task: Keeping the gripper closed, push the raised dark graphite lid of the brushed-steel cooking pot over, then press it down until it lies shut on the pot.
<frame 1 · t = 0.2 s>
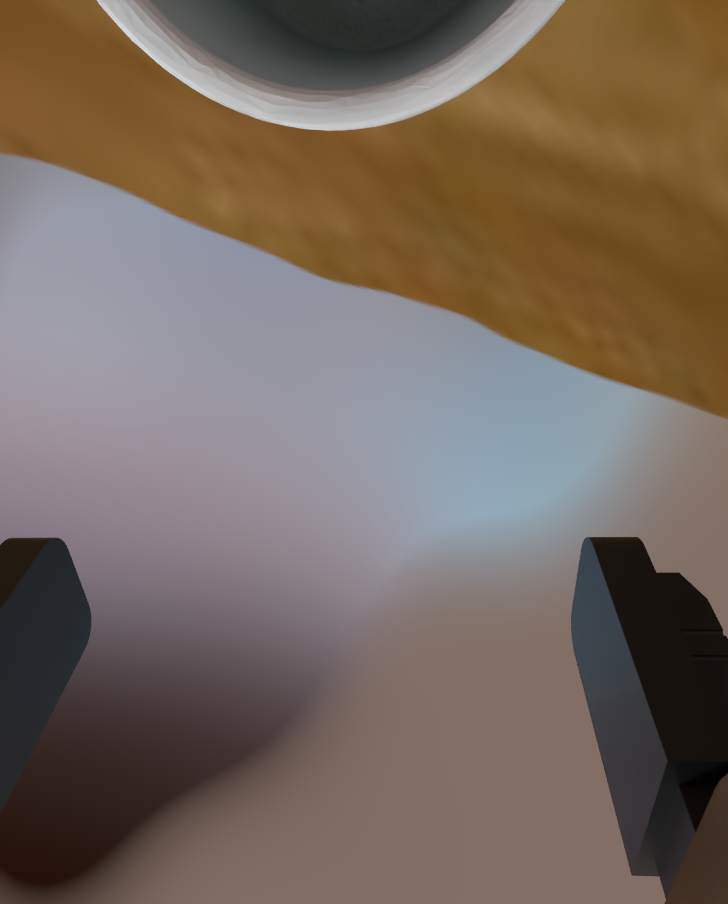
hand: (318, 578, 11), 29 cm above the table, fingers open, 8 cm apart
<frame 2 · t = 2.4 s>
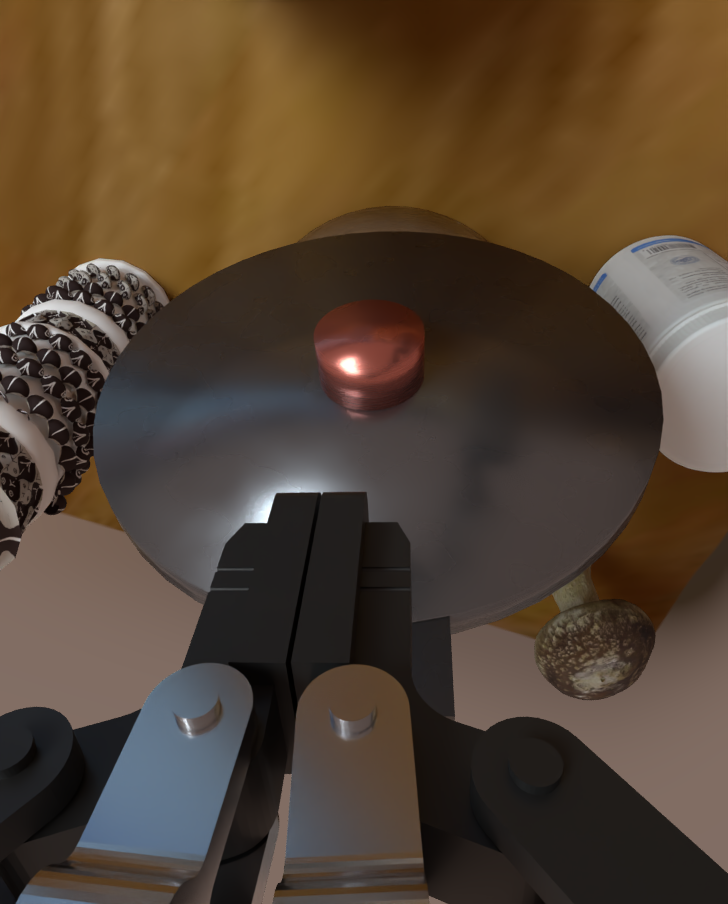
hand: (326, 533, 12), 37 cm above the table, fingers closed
decorative candle: (119, 313, 50), on the table
cooker pot: (391, 347, 50), on the table
cooker lid: (370, 388, 25), point 24 cm above the table, hinge at 75.0°
mushroom: (560, 535, 59), on the table
supplement tub: (649, 299, 47), on the table
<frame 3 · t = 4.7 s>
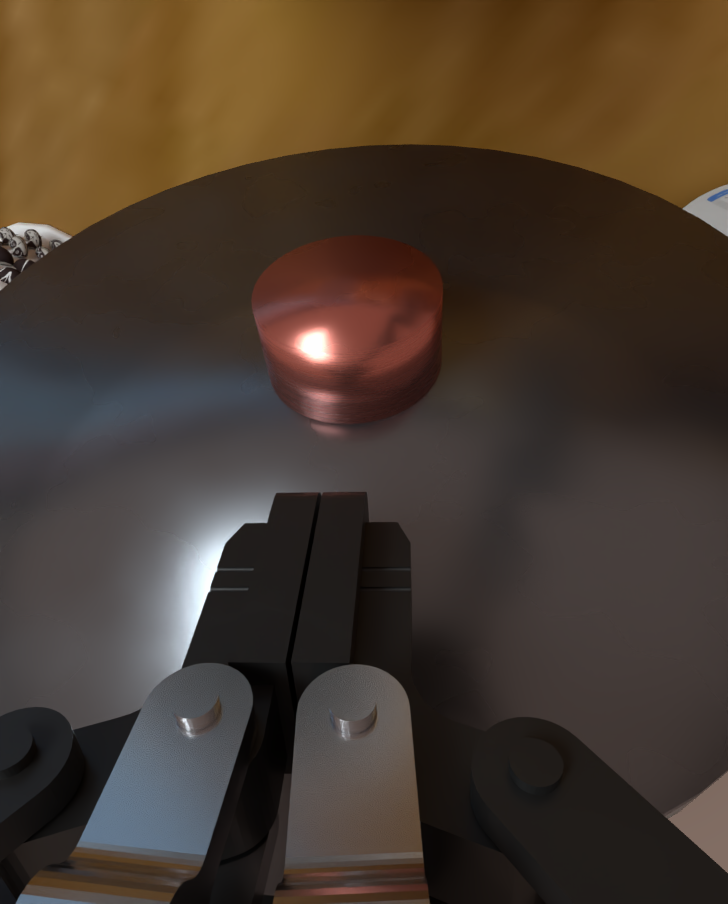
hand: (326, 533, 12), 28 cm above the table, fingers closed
decorative candle: (48, 295, 40), on the table
cooker lid: (350, 385, 15), point 24 cm above the table, hinge at 71.5°, touching gripper
supplement tub: (725, 268, 36), on the table
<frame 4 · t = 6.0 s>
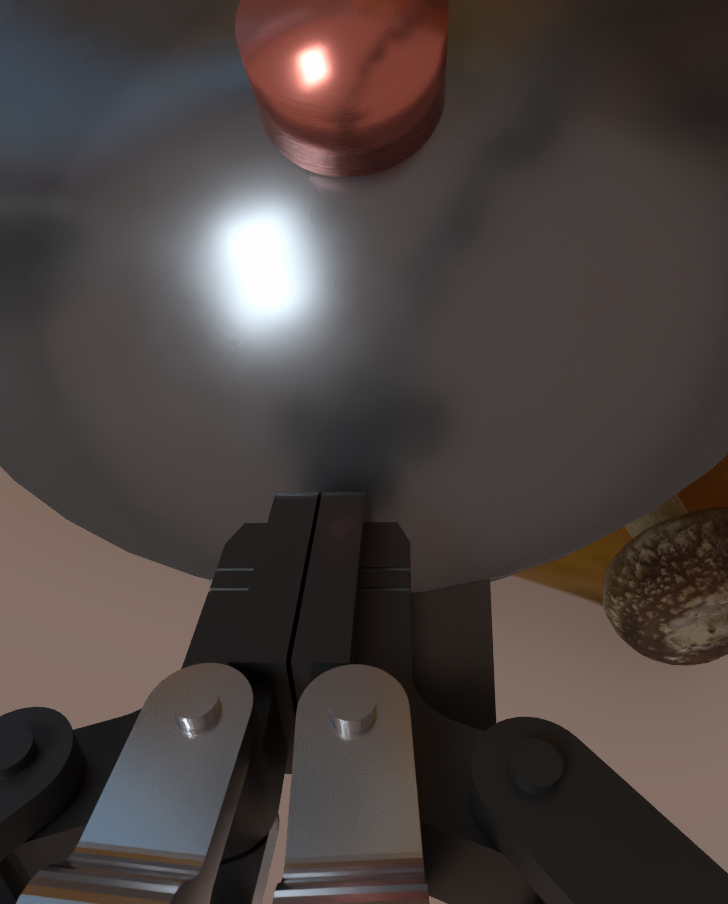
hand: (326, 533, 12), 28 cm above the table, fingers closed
cooker lid: (349, 132, 14), point 22 cm above the table, hinge at 46.9°
mushroom: (622, 448, 43), on the table
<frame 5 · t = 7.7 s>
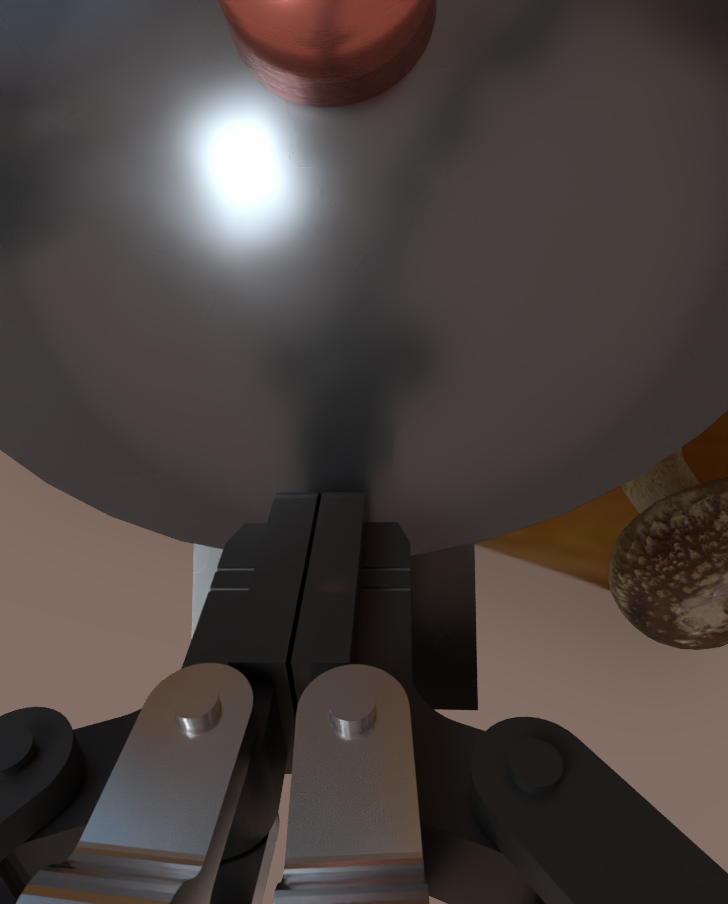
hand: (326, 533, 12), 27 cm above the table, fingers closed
cooker lid: (329, 55, 13), point 21 cm above the table, hinge at 39.4°, touching gripper
mushroom: (628, 420, 40), on the table
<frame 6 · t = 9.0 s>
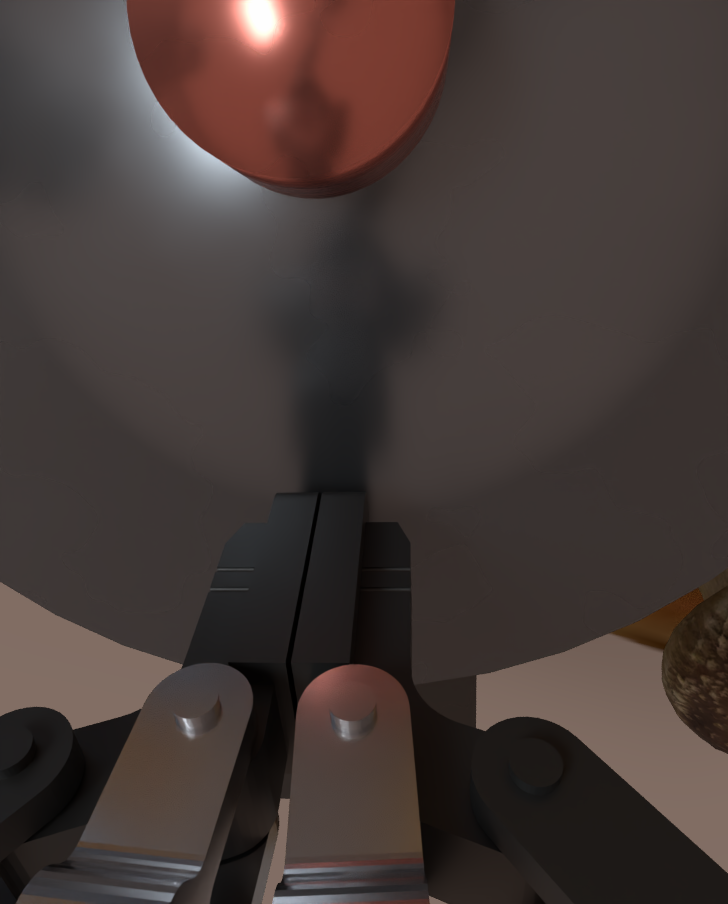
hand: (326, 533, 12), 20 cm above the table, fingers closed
cooker lid: (312, 141, 10), point 18 cm above the table, hinge at 20.4°, touching gripper
mushroom: (672, 456, 34), on the table
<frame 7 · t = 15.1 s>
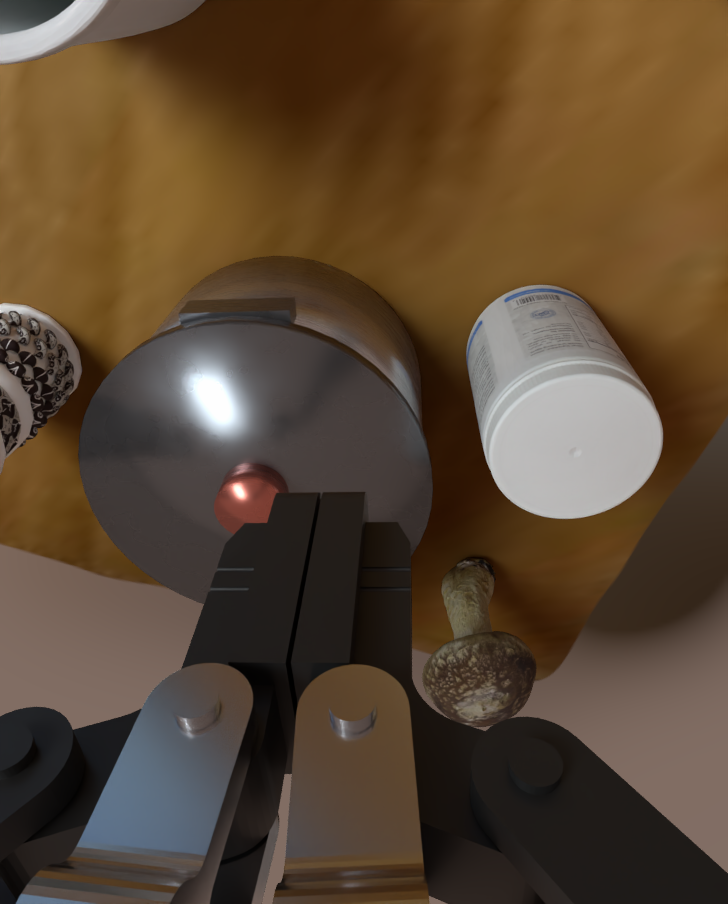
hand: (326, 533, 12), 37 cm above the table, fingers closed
decorative candle: (27, 354, 52), on the table
cooker pot: (289, 386, 52), on the table
cooker lid: (257, 511, 41), point 14 cm above the table, hinge at 0.2°
mushroom: (467, 562, 61), on the table
supplement tub: (531, 343, 49), on the table
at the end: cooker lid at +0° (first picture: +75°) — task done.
